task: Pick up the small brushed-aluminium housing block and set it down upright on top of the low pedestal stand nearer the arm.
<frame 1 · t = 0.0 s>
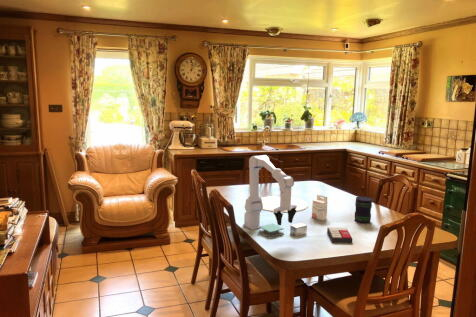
hand: (284, 223, 207), 10 cm above the table, tool pointing down, fingers open, 7 cm apart
stand: (271, 233, 221), on the table
calculator: (339, 238, 216), on the table
housing: (298, 233, 221), on the table
lazy susan: (279, 205, 281), on the table
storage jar: (362, 221, 245), on the table
ink cartridge box: (319, 218, 250), on the table
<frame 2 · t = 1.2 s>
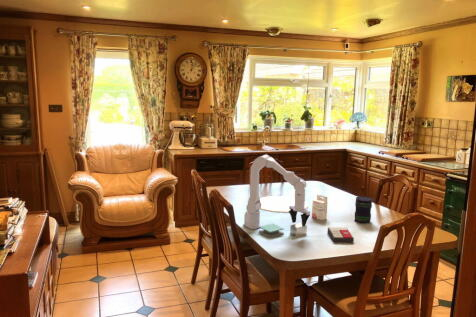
hand: (298, 224, 220), 6 cm above the table, tool pointing down, fingers open, 7 cm apart
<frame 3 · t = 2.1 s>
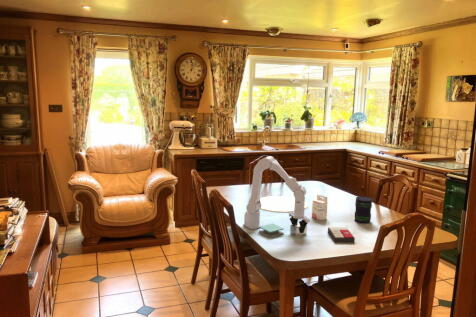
hand: (298, 231, 221), 1 cm above the table, tool pointing down, fingers closed on housing, 5 cm apart
housing: (298, 233, 221), on the table, touching gripper
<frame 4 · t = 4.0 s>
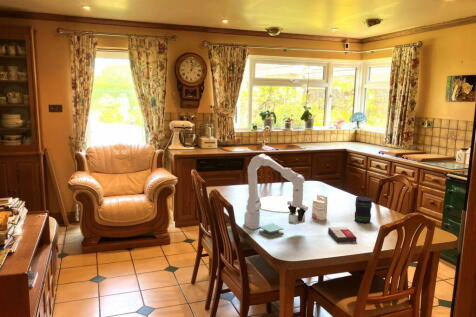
hand: (296, 219, 220), 8 cm above the table, tool pointing down, fingers closed on housing, 5 cm apart
housing: (296, 222, 220), point 7 cm above the table, touching gripper
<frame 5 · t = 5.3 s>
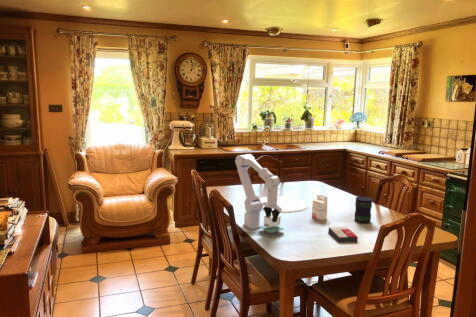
hand: (271, 220, 220), 8 cm above the table, tool pointing down, fingers closed on housing, 5 cm apart
housing: (272, 224, 220), point 5 cm above the table, touching gripper
when the fingers open (6 cm above the table, at t = 6.1 s): housing stays where it is, resting on stand.
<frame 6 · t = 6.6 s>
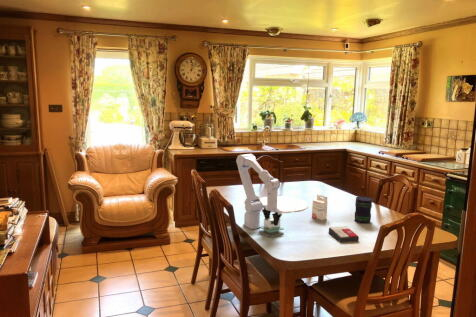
hand: (271, 223, 220), 6 cm above the table, tool pointing down, fingers open, 7 cm apart
housing: (271, 227, 221), point 3 cm above the table, touching stand
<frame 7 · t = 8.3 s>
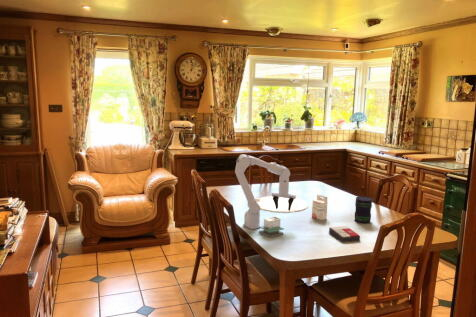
hand: (283, 209, 232), 10 cm above the table, tool pointing down, fingers open, 7 cm apart
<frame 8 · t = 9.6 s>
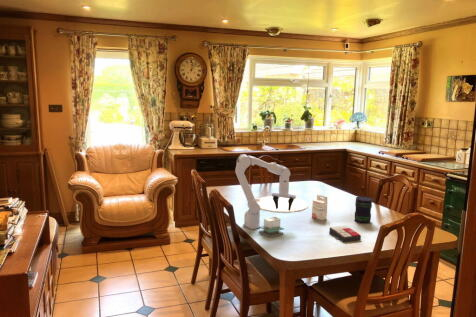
hand: (283, 209, 232), 10 cm above the table, tool pointing down, fingers open, 7 cm apart
at the end: housing 0.4 cm off-centre on the stand, point 3.5 cm above the stand's base; housing tilted 0°; housing touching stand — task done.
